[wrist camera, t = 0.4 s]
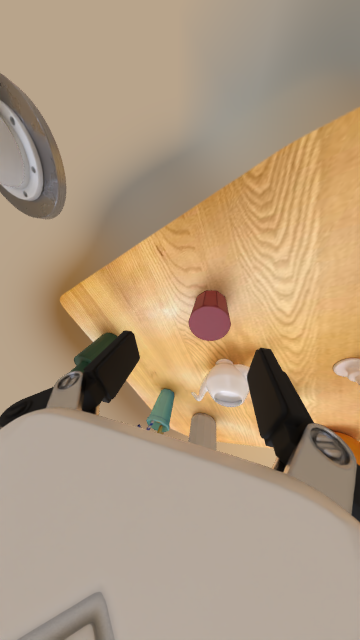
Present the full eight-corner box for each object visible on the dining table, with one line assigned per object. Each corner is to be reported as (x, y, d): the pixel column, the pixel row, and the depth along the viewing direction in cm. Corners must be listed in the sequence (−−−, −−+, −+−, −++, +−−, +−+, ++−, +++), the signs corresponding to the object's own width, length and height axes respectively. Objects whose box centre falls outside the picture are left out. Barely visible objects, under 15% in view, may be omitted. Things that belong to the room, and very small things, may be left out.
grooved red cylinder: (194, 290, 27) (187, 305, 20) (229, 290, 25) (234, 307, 18) (194, 317, 30) (188, 338, 23) (225, 319, 28) (228, 342, 22)
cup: (149, 380, 48) (125, 429, 35) (166, 378, 44) (147, 431, 32) (166, 402, 53) (151, 452, 40) (183, 402, 50) (172, 455, 37)
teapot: (185, 363, 38) (178, 393, 31) (255, 340, 29) (270, 374, 21) (202, 383, 41) (199, 415, 33) (271, 367, 32) (290, 406, 24)
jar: (198, 424, 56) (191, 491, 41) (187, 412, 53) (177, 479, 37) (220, 425, 52) (222, 499, 37) (210, 411, 48) (208, 487, 33)
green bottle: (99, 331, 40) (47, 370, 28) (119, 333, 39) (72, 376, 26) (107, 348, 44) (63, 390, 31) (125, 351, 42) (87, 396, 30)
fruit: (370, 436, 36) (417, 494, 27) (337, 449, 42) (368, 500, 33) (323, 422, 37) (354, 473, 29) (298, 436, 43) (318, 482, 35)
